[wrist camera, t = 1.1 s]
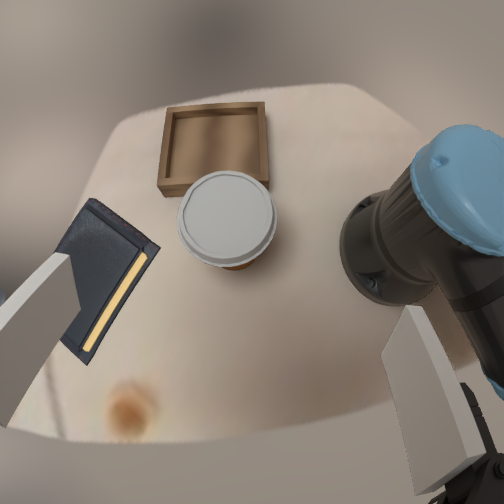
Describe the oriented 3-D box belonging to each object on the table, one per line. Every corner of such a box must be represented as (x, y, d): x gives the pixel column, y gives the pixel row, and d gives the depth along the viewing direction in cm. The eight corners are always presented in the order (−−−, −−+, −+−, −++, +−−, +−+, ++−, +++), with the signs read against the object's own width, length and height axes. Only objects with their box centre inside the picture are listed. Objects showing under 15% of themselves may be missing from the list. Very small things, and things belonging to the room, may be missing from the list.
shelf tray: (264, 117, 45) (264, 101, 41) (267, 193, 42) (268, 180, 38) (172, 122, 45) (167, 107, 41) (164, 197, 42) (156, 185, 38)
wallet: (88, 191, 41) (162, 247, 39) (94, 196, 43) (166, 251, 41) (18, 299, 37) (81, 369, 35) (26, 301, 39) (88, 368, 37)
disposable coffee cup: (239, 196, 42) (233, 149, 30) (287, 250, 40) (299, 218, 28) (182, 241, 40) (154, 207, 29) (228, 299, 39) (216, 286, 27)
